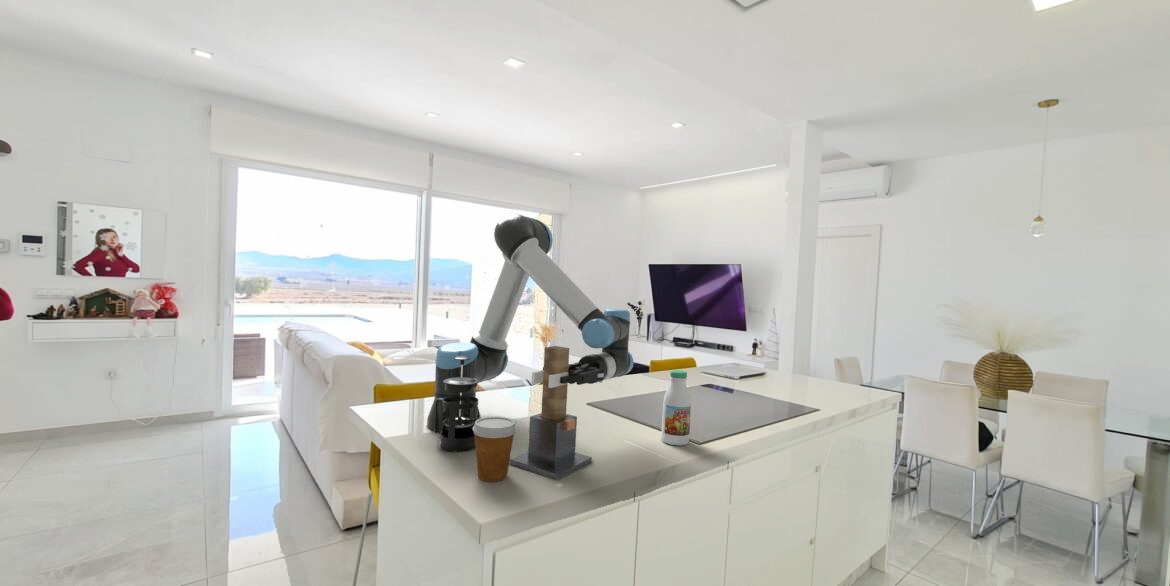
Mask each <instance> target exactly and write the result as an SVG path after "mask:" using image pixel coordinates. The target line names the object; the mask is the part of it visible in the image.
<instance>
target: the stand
mask: <svg viewBox="0 0 1170 586" xmlns="http://www.w3.org/2000/svg"><path fill="white" fill-rule="evenodd" d="M541 413H542V412H541ZM541 413H538V414H535V415H532V416H529V432H528V433H529V434H528V451H526V452H524V453H522V454H519V455H516V456H514V457H510V460H509V465H511V466H514V467H517V468H520V469H523V470H526V471H529V472H532V473H536V474H538V475H542V476H544V477H548V478H550V479H553V478H554V479H553V480H556V479H557V480H556V481H559V480H560V479H562V478H564V477H566V476H568V475H569V473H570V474H571V473H573V472H575V471H577V470H580V469H581V468H583V467H585V466H587V465H589V464H591V463H592V462H593V457H592V456H590V455H586V454H582V453H580V452H576V443H577V442H576V441H577V424H578V423H577V422H578V421H577V420H578V416H577V415H572V414H568V413H566V418H563V419H560V420H557V421H554V420H550V419H546V418H542V417H541Z"/></svg>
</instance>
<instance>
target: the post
mask: <svg viewBox="0 0 1170 586" xmlns="http://www.w3.org/2000/svg"><path fill="white" fill-rule="evenodd" d="M543 353H544V354H543V356H544V357H543V367H544V373H543V382H542V393H541V394H542V395H541V417H542V418H546V419H550V420H554V421H557V420H560V419H563V418H566V414H567V403H568V385H569V383H568V384H565V385H561V386H557V387H553V388H548V384H549V376H550V375H554V374H559V373H564V372H568V366H569V364H570V347H566V346H565V347H564V346H558V345H553V346H546V347H544V352H543Z"/></svg>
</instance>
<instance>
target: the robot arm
mask: <svg viewBox="0 0 1170 586" xmlns="http://www.w3.org/2000/svg"><path fill="white" fill-rule="evenodd" d="M550 229H551V228H550V227H549V226H548V225H547V224H546V223H544V222H542V221H541V220H539V219H536V218H533V217H529V216H524V215H522V214H519V213H511V214H507V215H505V216H503V217H502V218H500V219H499V221H498V222H497V223H496V225H495V228H494V232H493V233H494V235H493V237H494V242H495V244H496V246H497V247H498V249H499V250H500V252H501V253H502V257H503V259H504V263H503V266H502V268H501V271H500V274H499V276H498V279H497V282H496V285H495V287H494V290H493V292H492V295H491V299H490V300H489V304H488V307H487V309H486V313H485V315H484V318H483V320H482V324H481V326H480V329H479V331H476V332H475V333H472V336H471V338H470V342H466V341H465V342H463V341H460V342H455V343H454V342H451V343H446V344H444V345H442V346H440V347H439V348H438V349H437V351H436V358H435V375H434V376H435V378H434V379H435V380H434V381H435V382H434V399H433V403H432V405H431V407H430V410H429V413H428V416H427V419H426V422H427V423H426V426H427V428H428V429H430V430H433V431H435V413H436V399H438V398H446V397H450V396H460V393H455V392H448V391H446V390H445V383H443V381H444V380H445V379H449V378H457V377H461V365H460V360H456V359H454V358H455V357H460V356H464V357H469V358H471V359H470V360H464V365H463V372H462V377H466V378H474V379H478V380H479V383H483V382H487V381H491V380H493V379H495V378H497V377H498V376H500V375H502V374H503V373H504V371H505V370H506V368H507V366H508V362H509V356H508V354H507V350H508V348H509V347H508V346H509V345H508V343H507V341H506V339H507V336H508V334H509V332H510V328H511V326H512V323H513V320H514V317H515V315H516V312H517V309H518V307H519V305H520V302H521V299H522V297H523V293H524V291H525V288H526V287H527V283H528V281H529V277H530V279H532V281H533V282H534V283H535V284H536V285H537V286H538V287H539V288H540V289H541V290H542V291H543V292H544V293H545V294H546V296H547V297H548V298H549V299H550V300H551V301H552V302H553V303H554V304H555V305H556V306H557V307H558V308H559V310H561V312H562V313H564V315H565V316H566V317H567V318H568V319H569V320H570V321H571V323H573V325H575V327H576V328H577V329H578V330H579V331H580V332H581V337H582V340H583V342H584V343H585V345H586V346H588V347H589V348H592V349H601V352H597V353H593V354H592V353H591V354H587V355H584V356H582V357H581V358H580V360H579V361H577V362H574V363H569V366H568V372H564V373H559V374H554V375H550V376H549V384H548V388H553V387H557V386H561V385H565V384H568V385H569V384H570V385H573V384H576V385H578V386H581V385H584V384H589V385H591V384H595V383H596V384H597V383H603V382H604V381H607V380H610V379H615V378H620V377H622V376H626V375H627V374H628V373H630V372H631V371H632V370H633V367H634V358H633V355H632V353H630V351H629V341H630V340H629V339H630V327H631V313H630V311H629V310H628V309H622V308H621V309H620V308H607V309H604V312H603V311H602V310H600V309H599V307H598V306H597V305H596V304H595V303H594V302H593V301H592V300H591V299H590V298H589V297H588V296H587V295H586V294H585V293H584V292H583V291H582V289H581V288H580V287H579V286H578V285H576V283H575V282H574V281H573V280H572V279H571V278H570V277H569V276H568V275H567V274H566V273H565V272H564V270H562V269H561V268H560V267H559V266H558V265H557V264H556V262H554V260H553V259H552V258H551V257H550V256H549V255H548V254H549V252H550V251H551V250H552V247H553V238H554V237H553V234H552V230H550ZM543 373H544V366H542V369H541V370H537V371H532V373H531V385H536V384H537V385H538V384H541V383H542V384H543ZM479 383H478V384H479ZM476 394H477V387H472V388H471V389H470V390H468V391H467V392H464V393H462V395H461V396H472V397H476V398H477V396H476ZM447 403H451V404H460V401H451V402H447ZM471 403H473V402H472V401H471ZM461 404H464V401H461ZM442 414H443V406H442V401H440V415H439V430H442ZM456 417H459V409H456ZM461 417H464V409H461ZM447 418H449V408H446V419H447ZM470 418H473V419H474V408H470ZM481 418H482V417H481V413H480V410H479V408H478V414H477V420H478V419H481ZM448 428H449V427H446V430H448ZM470 429H473V426H471V427H470Z"/></svg>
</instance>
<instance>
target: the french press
mask: <svg viewBox="0 0 1170 586" xmlns="http://www.w3.org/2000/svg"><path fill="white" fill-rule="evenodd" d="M454 359H456V360H460V365H461V377H457V378H449V379H445V380H444V381H443V383H445V390H446V391H448V392H455V393H460V396H450V397H446V398H438V399H436V413H435V430H434V434H440V443H439V449H440V450H442V451H444V452H449V453H464V452H469V451H472V450H476V446H475V434H474V431H473V429H470V427H471V426H474V425H475V421H477V414H478V409H479V398H477V396H476V397H472V396H461V395H462V393H464V392H467V391H468V390H470V389H471V388H472V387H476V388H477V386H478V384H479V380H478V379H474V378H466V377H462V372H463V365H464V360H470V359H471V358H469V357H464V356H460V357H455V358H454ZM440 401H442V406H443V414H442V430H439V415H440ZM451 401H460V404H451V403H447V402H451ZM461 401H464V404H461ZM471 401H472V402H473V403H471ZM446 408H449V418H447V419H446ZM470 408H474V419H473V418H470ZM456 409H459V417H456ZM461 409H464V417H461ZM446 427H449V428H448V430H446Z"/></svg>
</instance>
